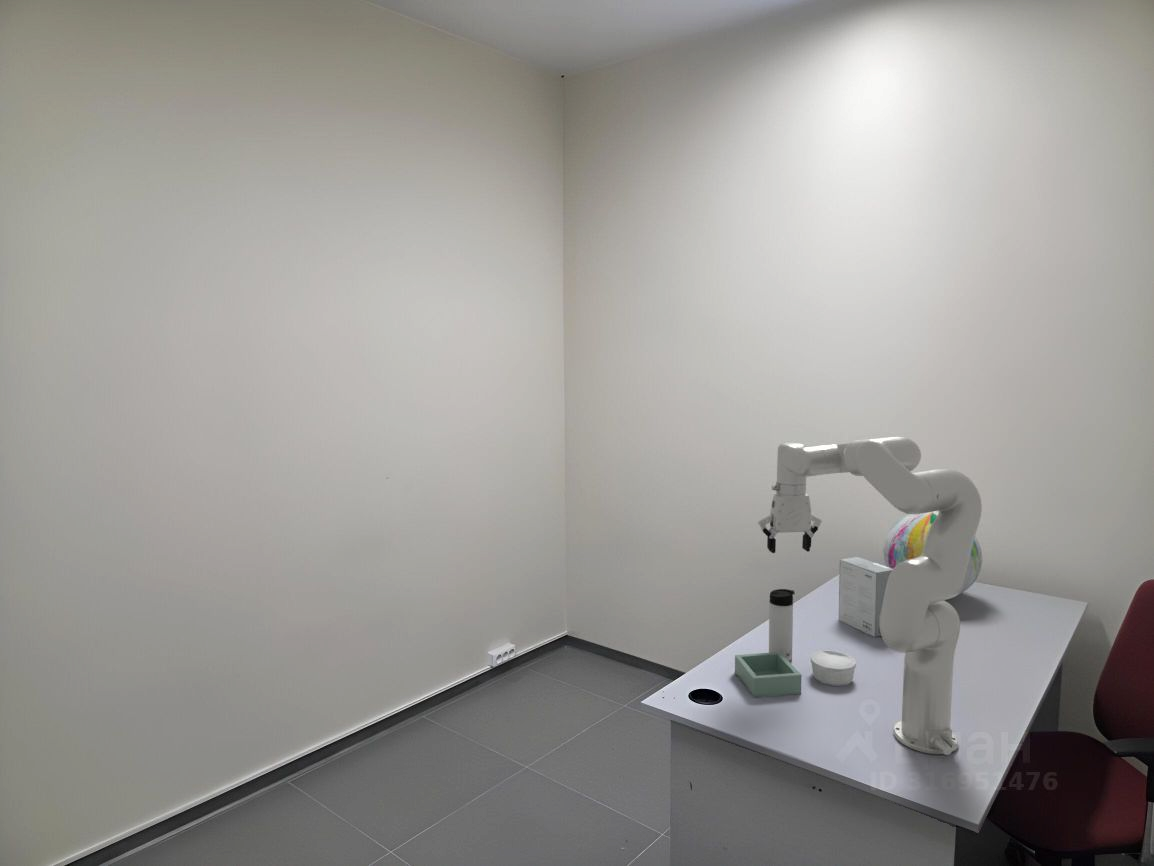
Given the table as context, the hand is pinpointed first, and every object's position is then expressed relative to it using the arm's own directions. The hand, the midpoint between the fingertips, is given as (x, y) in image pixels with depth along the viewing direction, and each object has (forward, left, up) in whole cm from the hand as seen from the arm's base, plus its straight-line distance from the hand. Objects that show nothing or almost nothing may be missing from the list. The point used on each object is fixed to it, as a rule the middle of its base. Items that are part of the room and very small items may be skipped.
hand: (788, 550), depth 187 cm
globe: (+39, -69, -32) cm, 85 cm away
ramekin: (-11, -8, -32) cm, 35 cm away
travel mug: (+1, +1, -32) cm, 32 cm away
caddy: (-11, +10, -32) cm, 35 cm away
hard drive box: (+19, -34, -32) cm, 50 cm away
